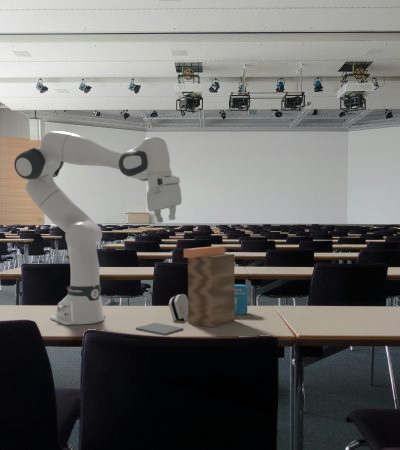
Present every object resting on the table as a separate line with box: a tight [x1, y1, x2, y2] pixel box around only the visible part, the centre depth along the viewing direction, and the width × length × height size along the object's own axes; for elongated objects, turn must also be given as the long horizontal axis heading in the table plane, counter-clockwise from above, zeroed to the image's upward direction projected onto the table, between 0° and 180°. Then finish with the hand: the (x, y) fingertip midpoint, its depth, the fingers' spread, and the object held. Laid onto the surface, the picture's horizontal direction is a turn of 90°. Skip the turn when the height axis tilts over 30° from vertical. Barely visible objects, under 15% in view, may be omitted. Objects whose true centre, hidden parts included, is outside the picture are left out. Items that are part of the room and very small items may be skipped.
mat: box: [135, 322, 184, 336], centre depth 168 cm, size 14×10×1 cm
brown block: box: [187, 253, 236, 328], centre depth 180 cm, size 12×14×26 cm
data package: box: [234, 283, 248, 316], centre depth 195 cm, size 12×4×12 cm, turn 84°
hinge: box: [168, 293, 188, 322], centre depth 190 cm, size 17×5×10 cm, turn 167°
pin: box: [183, 245, 226, 259], centre depth 176 cm, size 3×22×3 cm, turn 142°
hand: (166, 221), depth 164 cm, fingers open, 8 cm apart
